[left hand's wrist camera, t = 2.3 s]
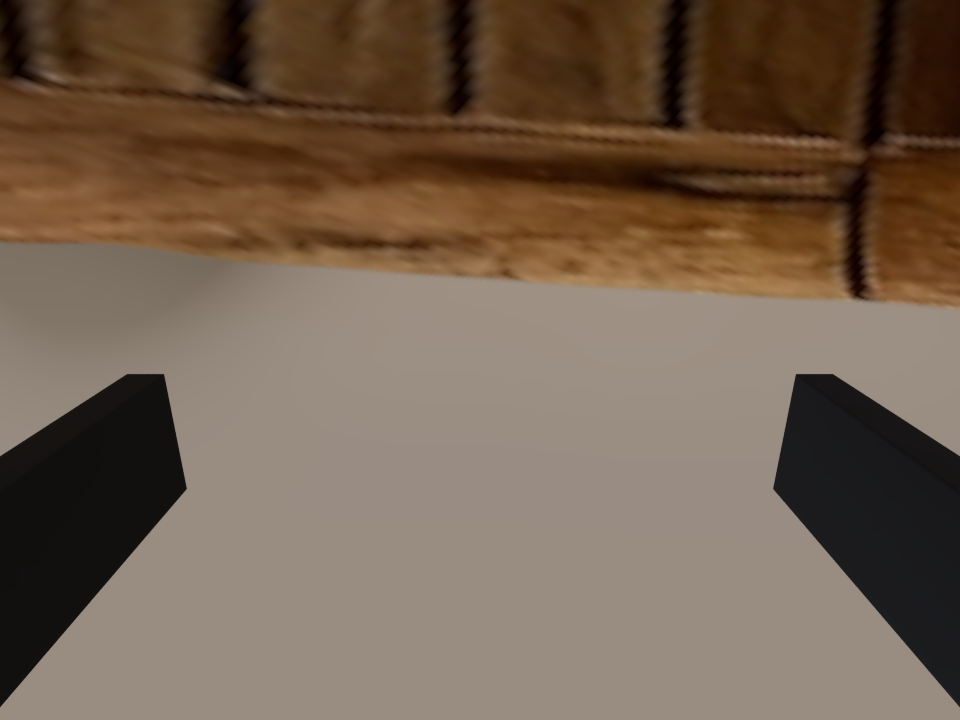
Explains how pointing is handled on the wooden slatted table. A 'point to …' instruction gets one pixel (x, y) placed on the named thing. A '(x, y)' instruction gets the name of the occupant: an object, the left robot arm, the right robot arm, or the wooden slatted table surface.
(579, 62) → the wooden slatted table surface
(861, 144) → the wooden slatted table surface
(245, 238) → the wooden slatted table surface
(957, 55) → the wooden slatted table surface
